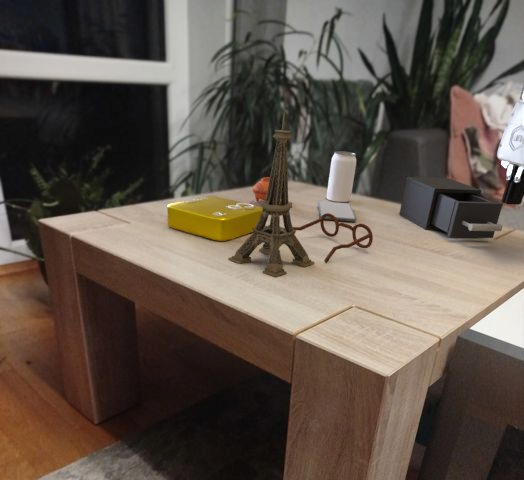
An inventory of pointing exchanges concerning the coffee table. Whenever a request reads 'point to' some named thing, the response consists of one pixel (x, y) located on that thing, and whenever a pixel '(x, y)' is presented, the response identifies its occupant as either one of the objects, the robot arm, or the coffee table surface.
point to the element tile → (214, 217)
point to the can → (341, 177)
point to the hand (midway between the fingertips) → (510, 203)
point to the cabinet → (428, 197)
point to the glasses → (355, 242)
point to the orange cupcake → (261, 189)
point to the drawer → (466, 215)
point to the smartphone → (337, 210)
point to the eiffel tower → (275, 217)
